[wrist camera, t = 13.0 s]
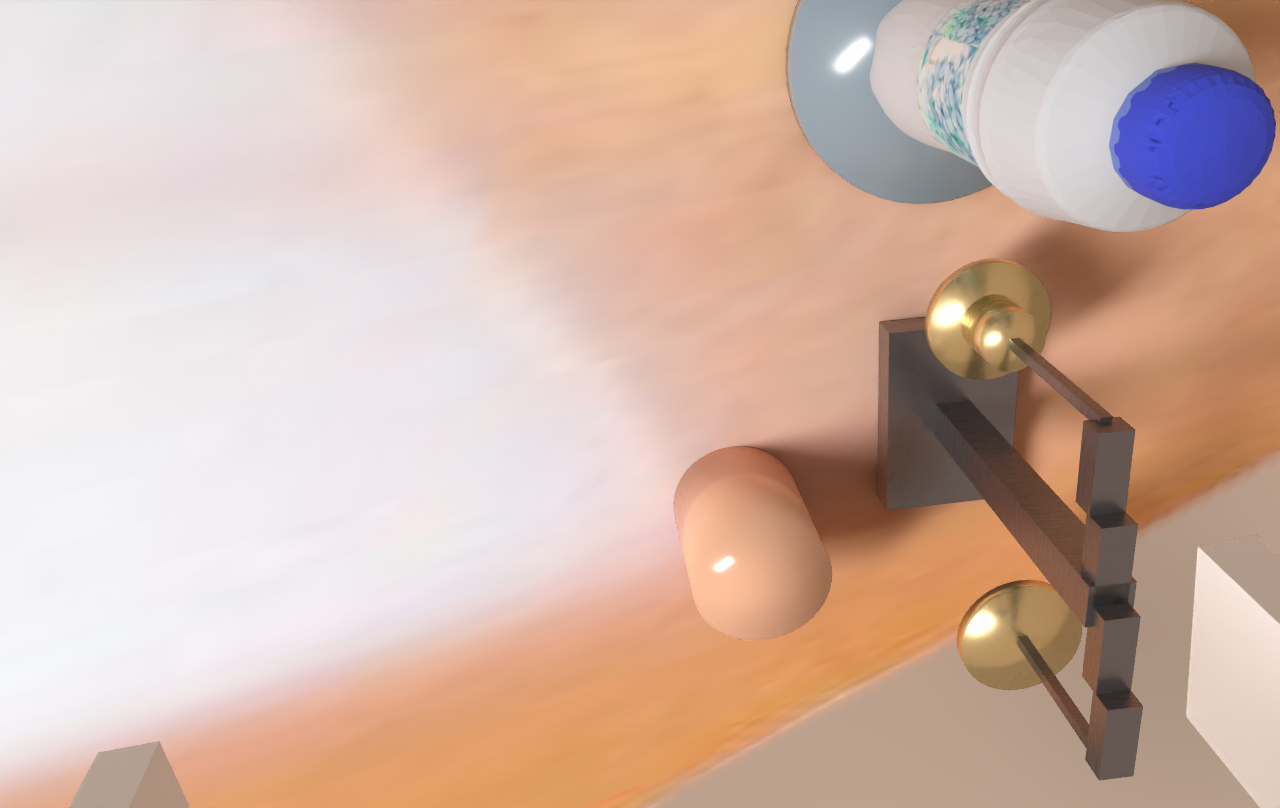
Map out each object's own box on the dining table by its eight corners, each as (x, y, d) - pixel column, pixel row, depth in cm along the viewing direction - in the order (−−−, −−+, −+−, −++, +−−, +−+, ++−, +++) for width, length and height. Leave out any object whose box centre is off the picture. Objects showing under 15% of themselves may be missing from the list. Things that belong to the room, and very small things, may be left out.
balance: (880, 236, 47) (1064, 400, 30) (1013, 222, 47) (1268, 377, 31) (876, 564, 54) (1025, 843, 37) (993, 550, 54) (1192, 822, 38)
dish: (781, -94, 41) (787, -95, 40) (1084, -121, 42) (1097, -123, 41) (789, 211, 46) (794, 217, 45) (1060, 184, 47) (1071, 189, 46)
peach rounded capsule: (669, 453, 50) (688, 529, 44) (794, 439, 51) (831, 512, 44) (678, 561, 53) (696, 648, 46) (797, 547, 53) (832, 631, 47)
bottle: (1049, 18, 43) (1425, 81, 25) (955, 168, 45) (1237, 329, 27) (912, -68, 41) (1207, -68, 23) (821, 92, 43) (1025, 210, 25)
